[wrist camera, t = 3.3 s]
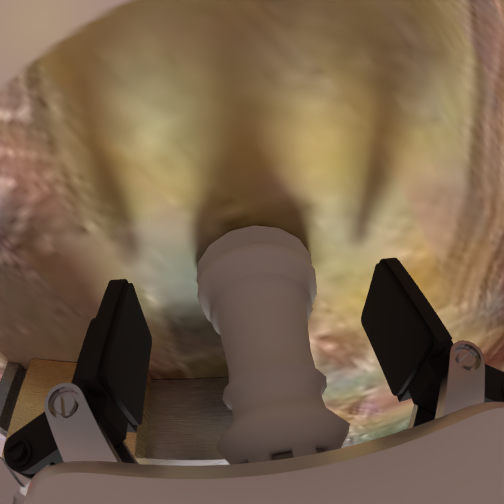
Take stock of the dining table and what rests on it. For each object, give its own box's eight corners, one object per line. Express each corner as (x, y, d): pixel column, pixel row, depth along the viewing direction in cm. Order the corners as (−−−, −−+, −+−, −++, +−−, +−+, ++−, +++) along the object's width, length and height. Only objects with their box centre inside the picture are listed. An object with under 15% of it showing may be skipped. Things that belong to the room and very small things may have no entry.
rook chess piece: (322, 286, 13) (387, 463, 6) (228, 322, 14) (242, 500, 7) (287, 199, 10) (380, 421, 4) (174, 248, 11) (147, 472, 5)
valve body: (274, 358, 15) (303, 513, 8) (270, 418, 20) (287, 524, 13) (2, 354, 14) (-34, 461, 7) (54, 413, 19) (38, 500, 12)
